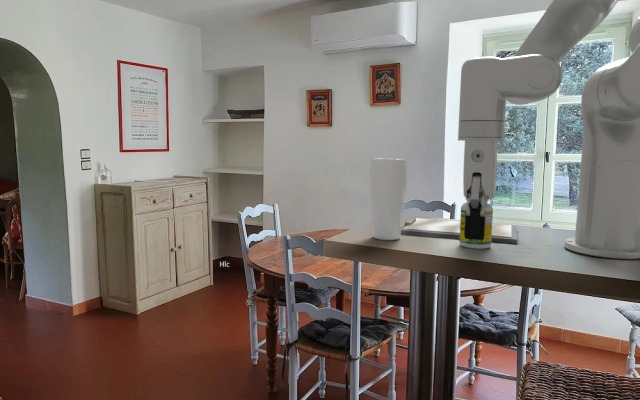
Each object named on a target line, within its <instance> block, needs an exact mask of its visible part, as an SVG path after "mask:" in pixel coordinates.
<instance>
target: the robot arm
mask: <svg viewBox="0 0 640 400" xmlns="http://www.w3.org/2000/svg"><path fill="white" fill-rule="evenodd" d="M619 1H620V0H552V1H551V2H550V4H549V5H548V7H547V9H546V10H545V12H544V13H543V15H542V16H541V18H540V19H539V21H537V23H536V25H535V26H534V28H533V29H532V30H531V31H530V33H529V34H528V35H527V37H526V38H525V40H524V41H523V42H522V44H521V45H520V47H519V48H518V49H517V51H516V53H515V55H513V56H512V57H504V58H501V57H496V56H481V57H474V58H469V59H467V60H465V61H464V63H463V64H462V66H461V69H460V70H461V72H460V86H459V87H460V89H459V90H460V91H459V110H458V111H459V112H458V129H457V131H458V132H457V141H463V142H464V150H463V151H464V152H463V154H464V155H463V174H462V175H463V178H462V179H463V180H462V181H463V183H462V184H463V187H462V189H463V197H464V198H468V202H467V201H466V203H467V215H466V216H465V234H464V237H465V238H466V239H475V240H483V239H484V232H485V216H484V205H485V196H487V197H489V201H491V200H493V199H494V198H495V195H496V184H497V183H496V182H497V165H498V143H497V142H504V140H505V125H506V123H505V121H506V109H507V108H506V107H507V102H508V103H510V104H512V105H518V106H523V105H529V104H533V103H537V102H540V101H543V100H545V99H548V98H549V97H551V96H552V95H553V94H554V93H556V92H557V91H558V89H559V88H560V86H561V84H562V82H563V74H564V73H563V69H562V66H561V65H560V63H561V62H562V61H563V60H564V59H565V58H566V56H567V55H568V54H569V53H570V52H571V50H572V49H574V47H576V45H577V44H578V43H579V42H581V41H582V40H583V39H584V38H586V37H587V36H588V35H590V33H592V31H594V30H595V29H597V28H598V26H600V24H601V23H602V22H603V21H604V20H605V19H606V18H607V16H609V15H610V13H611V12H612V10H614V8H615V6H616V4H618V2H619ZM632 25H633V26H632V28H631V30H630V32H629V36H628V46H629V49H630V51H631V54H630V55H629V56H628V57H625V58H620V59H618V60H615V61H612V62H609V63H607V64H605V65H602V67H599V68H598V69H597V70H595V71H594V72H593V73H592V74H591V75H590V76H589V78H587V81H586V82H585V84H584V86H583V89H582V94H581V102H580V103H581V104H580V105H581V117H582V144H581V145H582V146H581V147H582V148H581V158H580V172H579V173H580V174H579V183H578V195H577V209H576V219H575V220H576V221H575V222H576V223H575V233H574V234H575V235H574V237H569V238H566V239H565V240H564V245H563V246H564V248H566V249H567V250H570V251H572V252H575V253H577V254H583V255H588V256H593V257H601V258H608V259H616V260H617V259H621V260H639V259H640V15H639V16H638V17H637V19H636V21H635V22H634V24H632ZM467 191H468V193H467ZM467 195H468V197H467ZM479 195H483V197H482V198H479Z"/></svg>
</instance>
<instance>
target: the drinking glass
mask: <svg viewBox="0 0 640 400" xmlns="http://www.w3.org/2000/svg"><path fill="white" fill-rule="evenodd" d="M369 171H370V172H369V182H370V183H369V185H370V200H371V216H372V217H371V218H372V220H371V221H372V236H373V238H374V239H376V240H380V241H396V240H399V239H400V238H401V236H402V234H401V227H402V223H403V214H404V206H405V198H406V189H407V180H408V160H407V158H398V157H397V158H394V157H393V158H392V157H390V158H389V157H378V158H377V157H375V158H374V157H373V158H371V159H370V167H369Z"/></svg>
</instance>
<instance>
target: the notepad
mask: <svg viewBox="0 0 640 400" xmlns="http://www.w3.org/2000/svg"><path fill="white" fill-rule="evenodd" d="M401 235H406V236H407V235H408V236H416V237H417V236H418V237H419V236H420V237H429V238H431V237H432V238H443V239H444V238H445V239H452V240H453V239H454V240H456V239H457V240H460V220H448V219H447V220H446V219H433V218H419V217H410V218H409V219H407V220H406V221H405V222H404V224H403V225H401ZM491 243H501V244H515V245H517V244H518V230H517V225H516V224H504V223H492V238H491Z"/></svg>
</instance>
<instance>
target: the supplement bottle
mask: <svg viewBox="0 0 640 400" xmlns="http://www.w3.org/2000/svg"><path fill="white" fill-rule="evenodd" d="M467 193H468V191H467ZM467 197H468V195H467ZM482 197H483V195H479V198H482ZM464 198H465V197H464ZM465 200H466V202H464V203H463V204H461V207H460V220H459V221H460V239H459V245H460V246H462V247H464V248H468V249H474V250H475V249H476V250H480V249H482V250H483V249H488V248H490V247H491V246H492V242H491V238H492V224H493V217H494V216H493V214H494V209H493V208H494V207H493V205H491V204H490V203H488V202H489V201H490V197H487V196H485V205H484V216H485V232H484V239H483V240H475V239H466V238H465V237H464V234H465V216H466V215H467V202H468V198H465Z"/></svg>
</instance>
